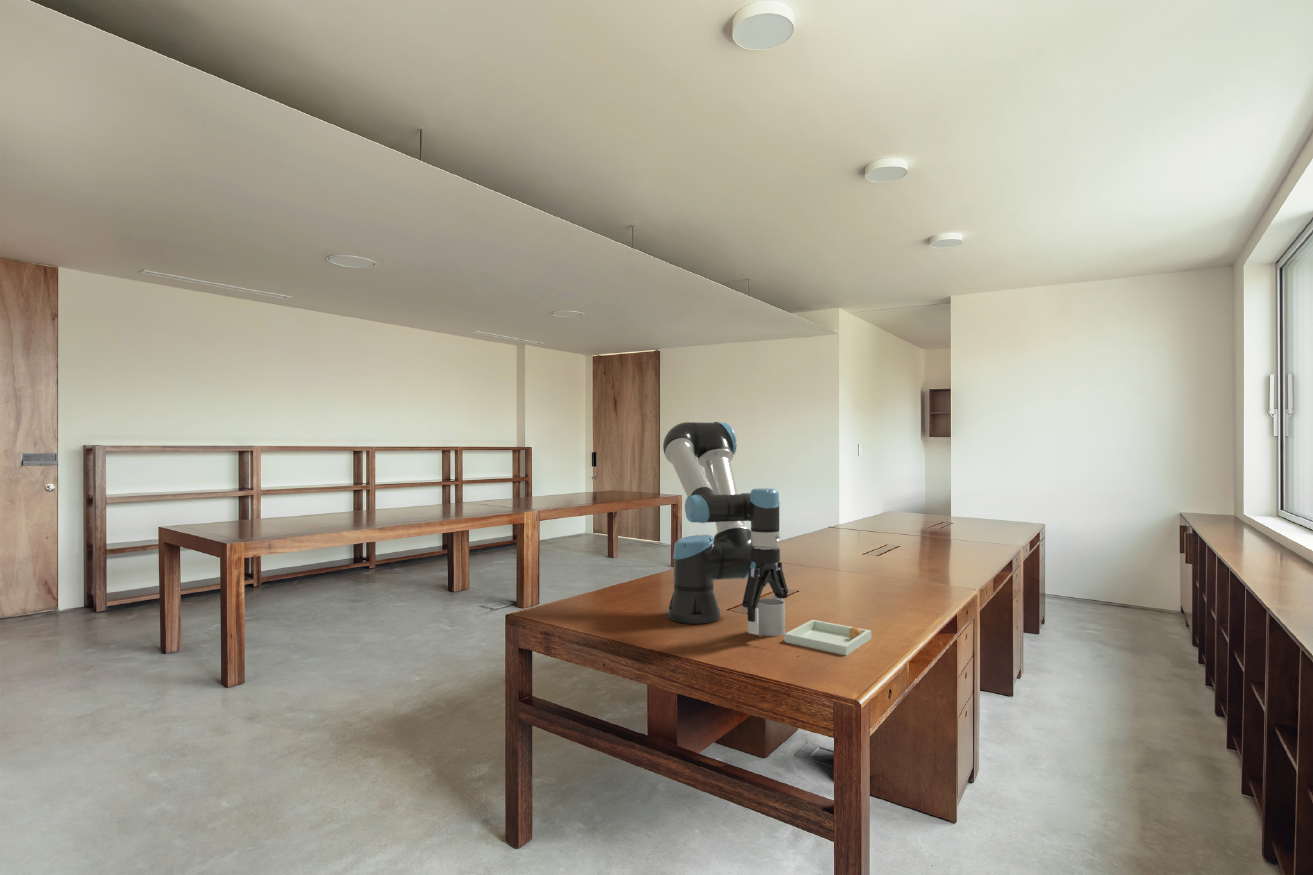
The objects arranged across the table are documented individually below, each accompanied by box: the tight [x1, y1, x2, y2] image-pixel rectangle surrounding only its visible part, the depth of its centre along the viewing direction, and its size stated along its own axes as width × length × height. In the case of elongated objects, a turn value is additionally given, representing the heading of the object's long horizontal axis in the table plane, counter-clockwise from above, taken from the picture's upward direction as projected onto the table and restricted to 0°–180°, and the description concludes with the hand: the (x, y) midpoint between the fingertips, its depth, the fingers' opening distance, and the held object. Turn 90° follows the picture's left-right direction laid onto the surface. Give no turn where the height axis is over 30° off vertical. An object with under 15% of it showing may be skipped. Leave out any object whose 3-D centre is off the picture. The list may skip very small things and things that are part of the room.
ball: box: [849, 626, 861, 639], centre depth 155 cm, size 3×3×3 cm
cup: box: [756, 598, 786, 638], centre depth 162 cm, size 7×10×9 cm
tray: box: [783, 619, 872, 656], centre depth 154 cm, size 16×16×3 cm
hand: (766, 627), depth 162 cm, fingers open, 13 cm apart
